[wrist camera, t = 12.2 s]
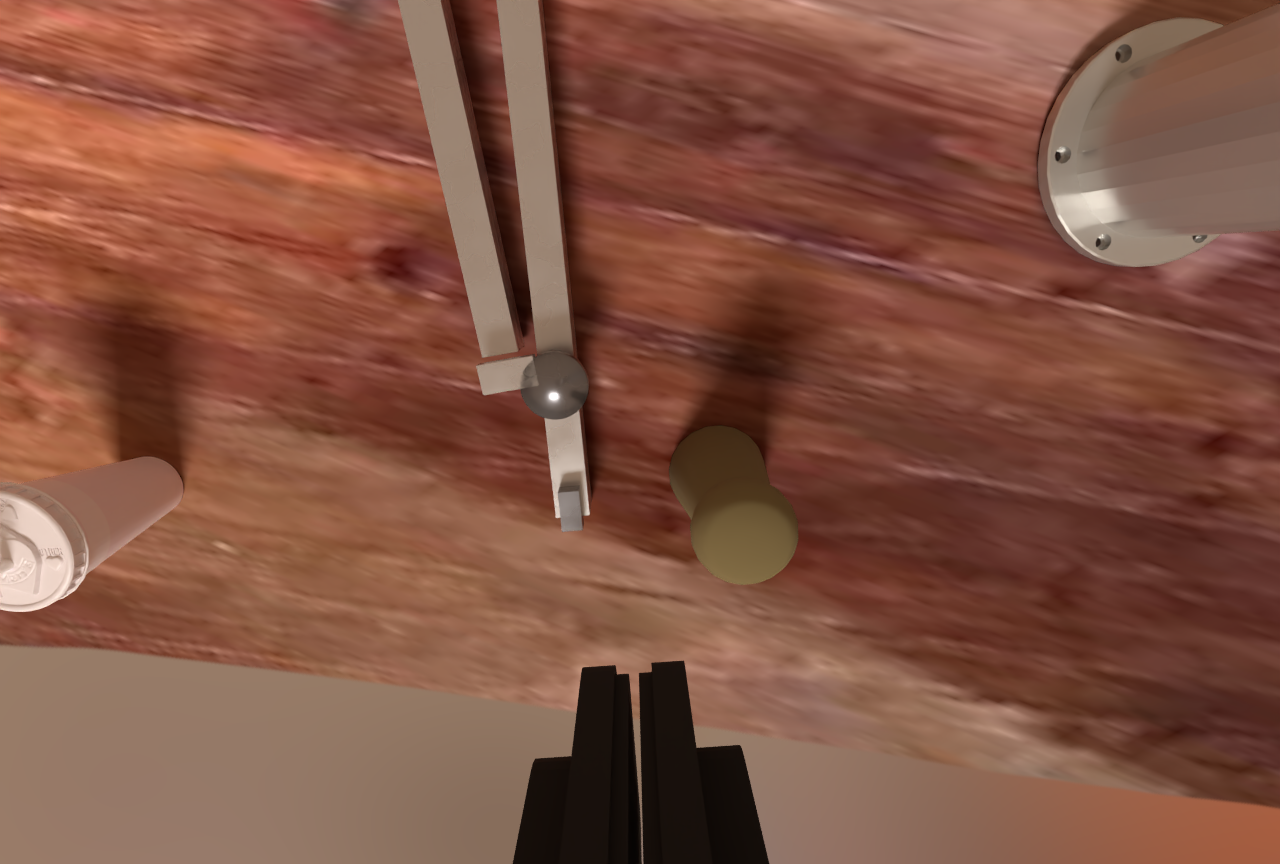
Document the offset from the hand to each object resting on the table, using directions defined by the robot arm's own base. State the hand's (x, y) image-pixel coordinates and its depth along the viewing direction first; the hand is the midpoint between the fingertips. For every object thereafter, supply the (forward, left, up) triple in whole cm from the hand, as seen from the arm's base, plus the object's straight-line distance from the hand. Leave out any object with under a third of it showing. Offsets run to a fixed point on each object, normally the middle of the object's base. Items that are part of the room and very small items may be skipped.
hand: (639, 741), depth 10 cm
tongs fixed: (+4, -8, -29) cm, 30 cm away
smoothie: (+30, +3, -29) cm, 42 cm away
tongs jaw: (+6, -12, -28) cm, 31 cm away
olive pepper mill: (-5, +5, -29) cm, 30 cm away
